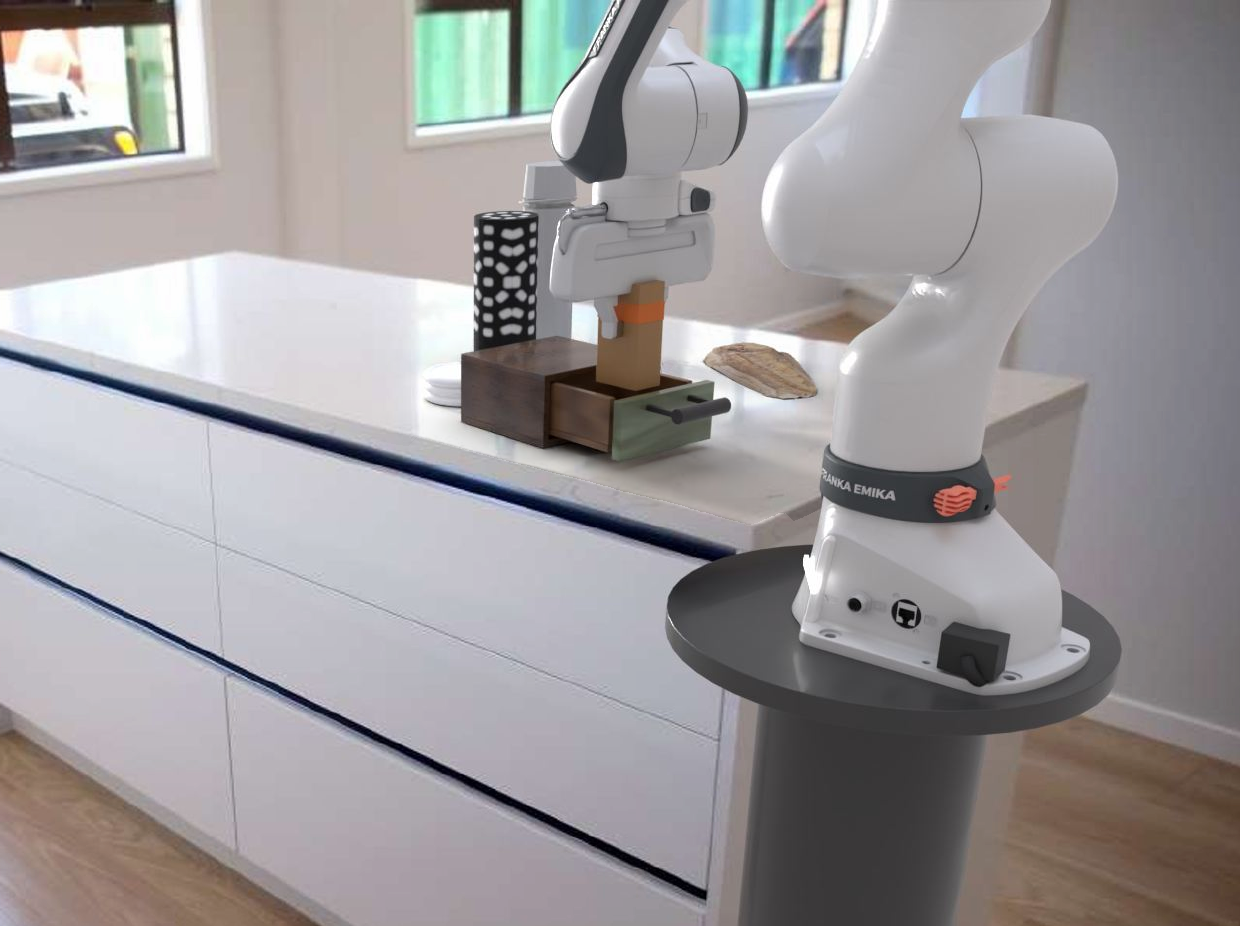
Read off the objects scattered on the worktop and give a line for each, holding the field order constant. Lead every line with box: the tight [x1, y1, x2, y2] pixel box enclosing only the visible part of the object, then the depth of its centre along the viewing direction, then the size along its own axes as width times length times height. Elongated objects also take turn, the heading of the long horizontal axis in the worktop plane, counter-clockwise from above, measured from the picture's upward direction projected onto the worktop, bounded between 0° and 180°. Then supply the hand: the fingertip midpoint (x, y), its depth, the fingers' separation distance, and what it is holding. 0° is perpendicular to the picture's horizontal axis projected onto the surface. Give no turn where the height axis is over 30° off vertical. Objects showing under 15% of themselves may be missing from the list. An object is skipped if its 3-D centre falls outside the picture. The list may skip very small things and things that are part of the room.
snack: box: [596, 280, 666, 391], centre depth 150 cm, size 6×4×11 cm, turn 32°
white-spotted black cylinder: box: [473, 210, 539, 351], centre depth 187 cm, size 8×8×20 cm
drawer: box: [549, 372, 732, 463], centre depth 151 cm, size 19×13×6 cm
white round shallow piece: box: [423, 361, 461, 407], centre depth 176 cm, size 10×10×4 cm
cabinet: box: [460, 336, 597, 449], centre depth 163 cm, size 15×15×8 cm
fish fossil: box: [703, 341, 819, 400], centre depth 181 cm, size 26×10×1 cm, turn 9°
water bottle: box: [518, 160, 578, 339], centre depth 197 cm, size 9×8×25 cm
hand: (630, 334), depth 150 cm, fingers closed on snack, 4 cm apart
